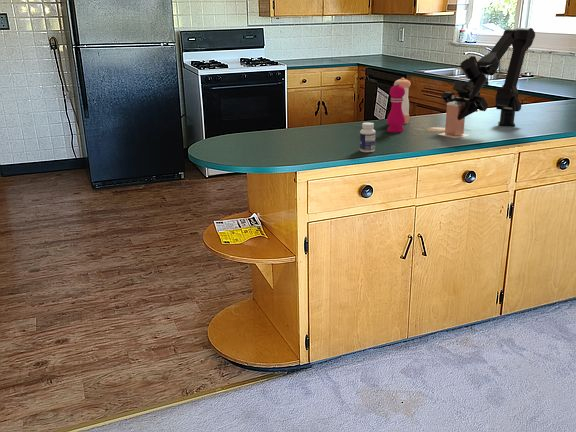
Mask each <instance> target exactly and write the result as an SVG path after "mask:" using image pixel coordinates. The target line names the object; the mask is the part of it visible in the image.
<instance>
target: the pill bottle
mask: <svg viewBox="0 0 576 432" xmlns="http://www.w3.org/2000/svg"><path fill="white" fill-rule="evenodd" d="M374 126H375V123H374V122H367V121H366V122H362V124H361V127H362V129H361V130H360V131H359V151H360V152H362V153H373V152H375V151H376V130H375V129H374Z"/></svg>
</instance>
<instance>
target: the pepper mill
mask: <svg viewBox="0 0 576 432" xmlns="http://www.w3.org/2000/svg"><path fill="white" fill-rule="evenodd" d="M404 94H405V89H404V87H402V86H400V82H399V81H397V82H396V85H395V86H394V85H393V86H391V88H390V89H389V96H390V102H391V109H390V111H389V113H388V115H387V118H386V124H387V125H389V126H387V132H390V133H402V132H404V127H403V126H404V125H405V124H404V123H405V117H404V114H403V111H402V102H403V98H402V97H403V96H404Z"/></svg>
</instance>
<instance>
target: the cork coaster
mask: <svg viewBox="0 0 576 432" xmlns="http://www.w3.org/2000/svg"><path fill="white" fill-rule="evenodd" d="M426 131H428V132H431V133H438V134H442V133H445V127H442V126H440V127H438V126H436V127H428V128H426Z"/></svg>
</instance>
